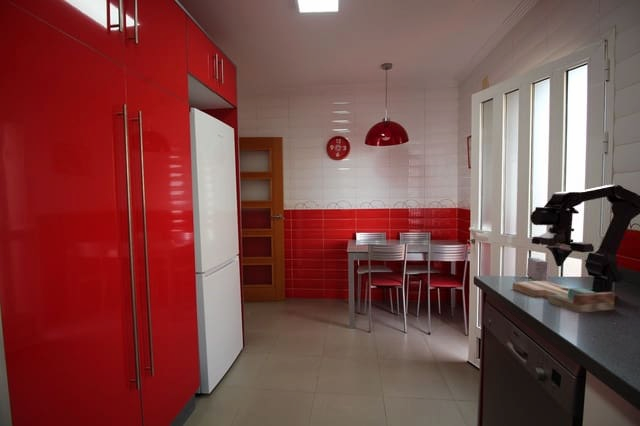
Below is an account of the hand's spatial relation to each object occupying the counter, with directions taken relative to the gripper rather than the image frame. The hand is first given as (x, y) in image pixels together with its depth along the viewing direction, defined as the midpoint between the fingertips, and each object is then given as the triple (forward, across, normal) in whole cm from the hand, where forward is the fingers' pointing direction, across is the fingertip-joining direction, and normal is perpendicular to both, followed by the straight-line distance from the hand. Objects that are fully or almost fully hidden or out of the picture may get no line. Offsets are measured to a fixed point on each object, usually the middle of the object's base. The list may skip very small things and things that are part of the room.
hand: (558, 266), depth 114 cm
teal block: (+8, +11, -5) cm, 15 cm away
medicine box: (+11, -18, +12) cm, 24 cm away
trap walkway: (+11, +4, -5) cm, 12 cm away
